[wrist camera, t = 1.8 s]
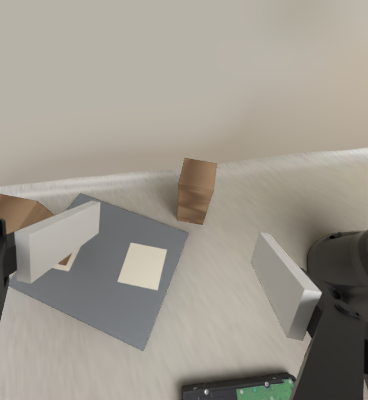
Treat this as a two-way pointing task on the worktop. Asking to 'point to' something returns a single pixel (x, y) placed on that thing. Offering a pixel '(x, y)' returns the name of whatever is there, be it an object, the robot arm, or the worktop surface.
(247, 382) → the disk drive
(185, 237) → the board
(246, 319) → the worktop surface
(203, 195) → the post
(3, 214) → the built post
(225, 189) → the worktop surface
